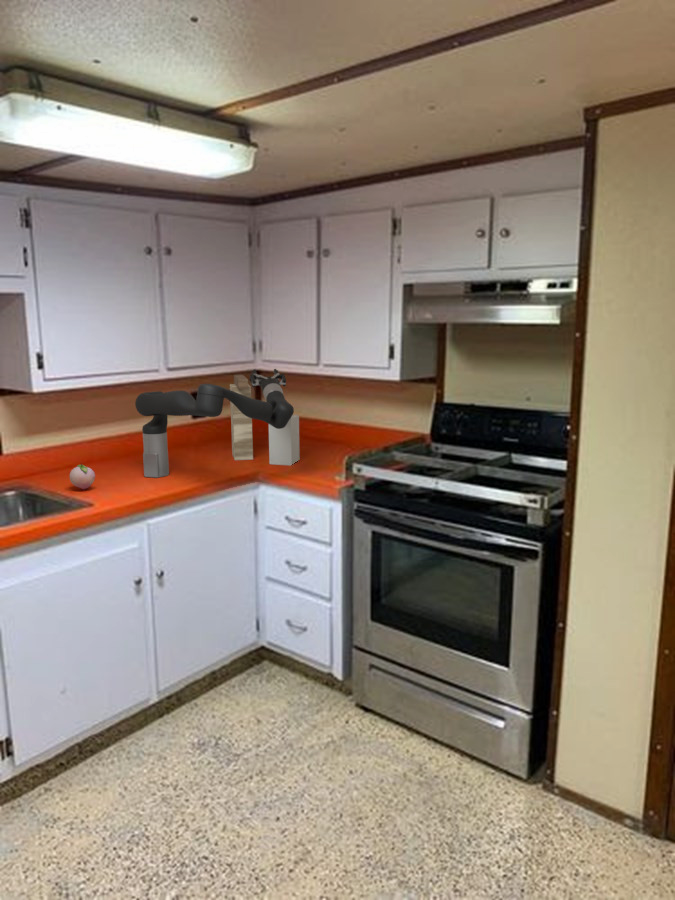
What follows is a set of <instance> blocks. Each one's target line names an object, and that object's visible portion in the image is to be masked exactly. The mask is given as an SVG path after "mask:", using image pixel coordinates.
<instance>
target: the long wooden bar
mask: <svg viewBox="0 0 675 900" xmlns="http://www.w3.org/2000/svg"><path fill="white" fill-rule="evenodd" d="M233 384H235V386H236V387H237V388H238V389H248V384H249V379H248V378H247V377H246V376H245V375H243V374H234V375H233Z"/></svg>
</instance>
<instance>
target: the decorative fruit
mask: <svg viewBox="0 0 675 900" xmlns="http://www.w3.org/2000/svg"><path fill="white" fill-rule="evenodd" d="M95 479H96V473H95V471H94V470H93V469H92V468H91V467H88V466H85V465H84V464H83V463H82V462H81V464H78V465H77V466H75V467H73V469H71V471H70V472H69V481H70V483H71V484H72V485H73V486H75V487H77V488H79V489H82V490H83V491H84V490H86V489H88V488H90V487H91V486H92V485H93V483H94V481H95Z"/></svg>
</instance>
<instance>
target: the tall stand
mask: <svg viewBox="0 0 675 900" xmlns="http://www.w3.org/2000/svg"><path fill="white" fill-rule="evenodd" d="M229 390H231V391H234V392H236V393H239V394H241V395H244V396H246V397H249V398H252V385H251V384H249V383H248V389H238V388H237V387H236V386H235V384H234V383H233V384H232V383H230V384H229ZM229 402H230V420H231V421H230V422H231V424H230V425H231V428H230V429H231V451H232V452H231V453H232V454H231V455H232V458H233V459H234V461H247V460H254V446H253V418H249V417H247V416H245V415H244V414H243V413H242V412H241V411H240V410H239V409H238V408H237V407H236V406H235V405H234V404H233V403H232V402H231V401H229Z"/></svg>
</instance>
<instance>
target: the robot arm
mask: <svg viewBox="0 0 675 900" xmlns="http://www.w3.org/2000/svg"><path fill="white" fill-rule="evenodd" d="M251 373H252V374H249V383H250V386H251V388H256V386H259V387H260V389H261V392H262V394H263V397H264V399H265V401H264V400H260V399H255V398H252V397H251V398H249V397H246V396H244V395H241V394H239V393H236V392H234V391H231V390H230V388H225V387H224V386H220V385H216V384H212V383H201V384H199V386H198V387H197V391H196V392H197V395H196V399H195V398H194V397H193V395H191V394H190V393H189V392H188V391H185V390H171V391H165V392H163V391H161V390H160V391H158V390H157V391H149V392H148V391H147V392H143V393H139V395H138V396H137V397H136V398H135V403H134V404H135V409H136V411H137V412H138V414H140V415H141V416H144V417H152V419H151V420H150V421H148V422H147V423H145V424H143V426H142V429H141V430H142V443H143V444H142V445H143V453H142V458H143V459H142V461H143V474H144V475H143V476H144V478H145V477H146V478H156V479H157V478H161V477H166V476H169V475H170V468H169V467H170V464H169V451H168V450H169V449H168V432H167V431H168V429H167V427H168V423H169V422H168V421H169V420H168V416H173V417H184V416H197V417H205V418H206V417H207V418H216V417H219V416H220V415H221V414H222V412H223V406H224V400H225V399H226V400H228V401H229V402H230V401H231V402H232V403H233V404H234V405H235V406H236V407H237V408H238V409H239V410H240V411H241V412H242V413H243V414H244V415H245V416H247V417H249V418H252V420H253V419H254V420H259V421H262V422H265V423H267V424H268V425H269V424H270V425H271V426H273V427H275V428H277V429H282V428H284V427H285V426H286V425H287V423H288V421H289V420H290V418H291V417H292V415H294V412H295V409H294V406H293V405H292V404H291V403H289V402H288V401H287V400H286V397H285V396H284V392H283V388H282V387H286V386H287V384H286V383H287V378H286V376H285V373H280V372H279V370H278V369H277V368H274V369H273V376H264V375H261V374H258V372H257V370H256V369H253V370H252V371H251ZM281 385H282V387H281Z"/></svg>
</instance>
